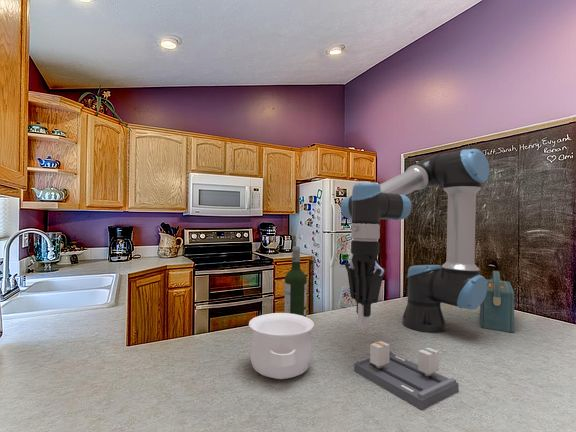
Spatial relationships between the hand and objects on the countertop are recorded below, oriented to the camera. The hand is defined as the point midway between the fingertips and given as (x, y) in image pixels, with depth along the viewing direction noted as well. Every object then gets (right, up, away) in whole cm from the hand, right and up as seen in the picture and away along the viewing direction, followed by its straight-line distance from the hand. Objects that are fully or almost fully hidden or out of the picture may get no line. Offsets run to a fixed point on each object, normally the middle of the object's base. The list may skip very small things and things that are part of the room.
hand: (363, 327), depth 86 cm
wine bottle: (-18, -11, +29) cm, 36 cm away
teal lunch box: (+63, -13, +42) cm, 77 cm away
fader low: (+3, -9, -5) cm, 10 cm away
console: (+8, -11, -6) cm, 15 cm away
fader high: (+14, -9, -8) cm, 18 cm away
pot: (-22, -11, -1) cm, 25 cm away
